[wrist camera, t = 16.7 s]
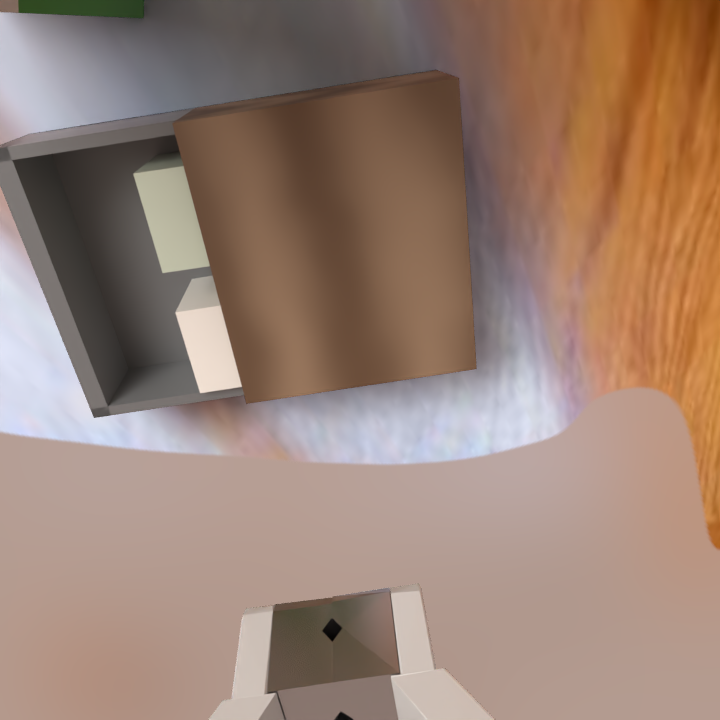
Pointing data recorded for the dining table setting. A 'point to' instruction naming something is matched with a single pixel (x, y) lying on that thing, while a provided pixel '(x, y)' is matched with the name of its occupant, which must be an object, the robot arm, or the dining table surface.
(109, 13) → the hardback book
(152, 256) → the tray
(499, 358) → the dining table surface
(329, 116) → the brown box sleeve
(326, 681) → the robot arm
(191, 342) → the white tile
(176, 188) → the sage tile
